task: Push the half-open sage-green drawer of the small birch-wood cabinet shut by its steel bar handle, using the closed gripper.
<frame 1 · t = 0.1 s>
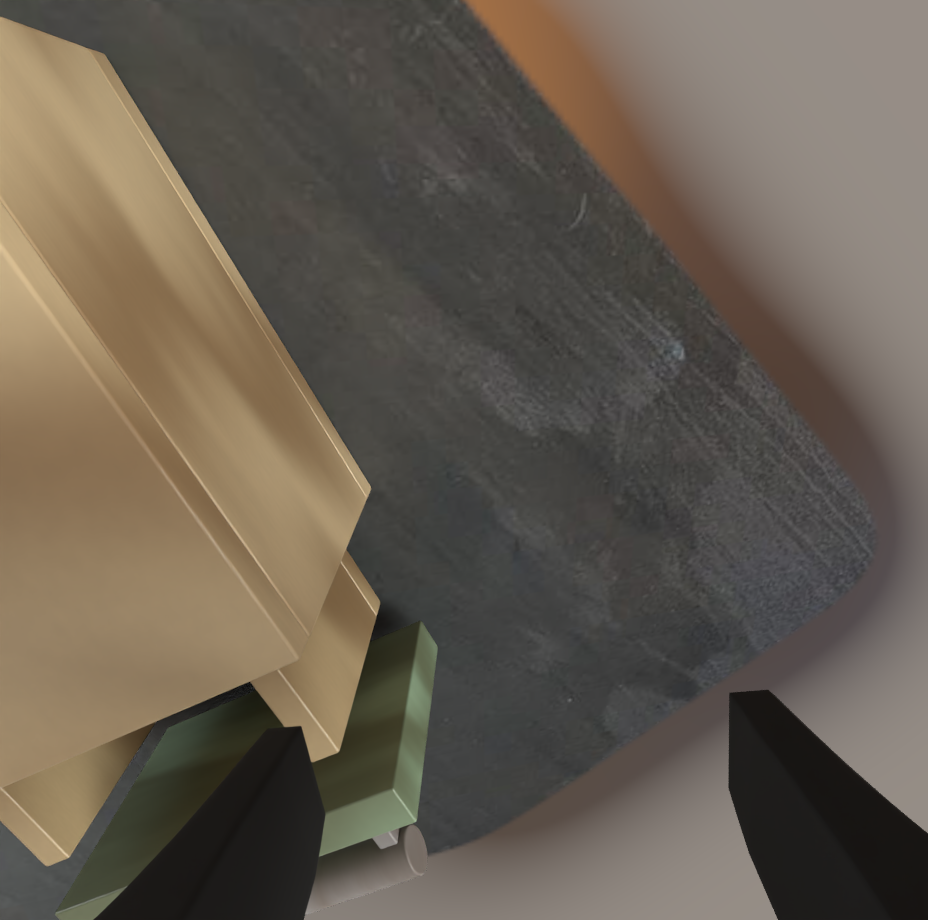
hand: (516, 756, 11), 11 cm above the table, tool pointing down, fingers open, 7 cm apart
cabinet: (95, 383, 21), on the table
drawer: (197, 677, 19), point 4 cm above the table, slide at 4.5 cm
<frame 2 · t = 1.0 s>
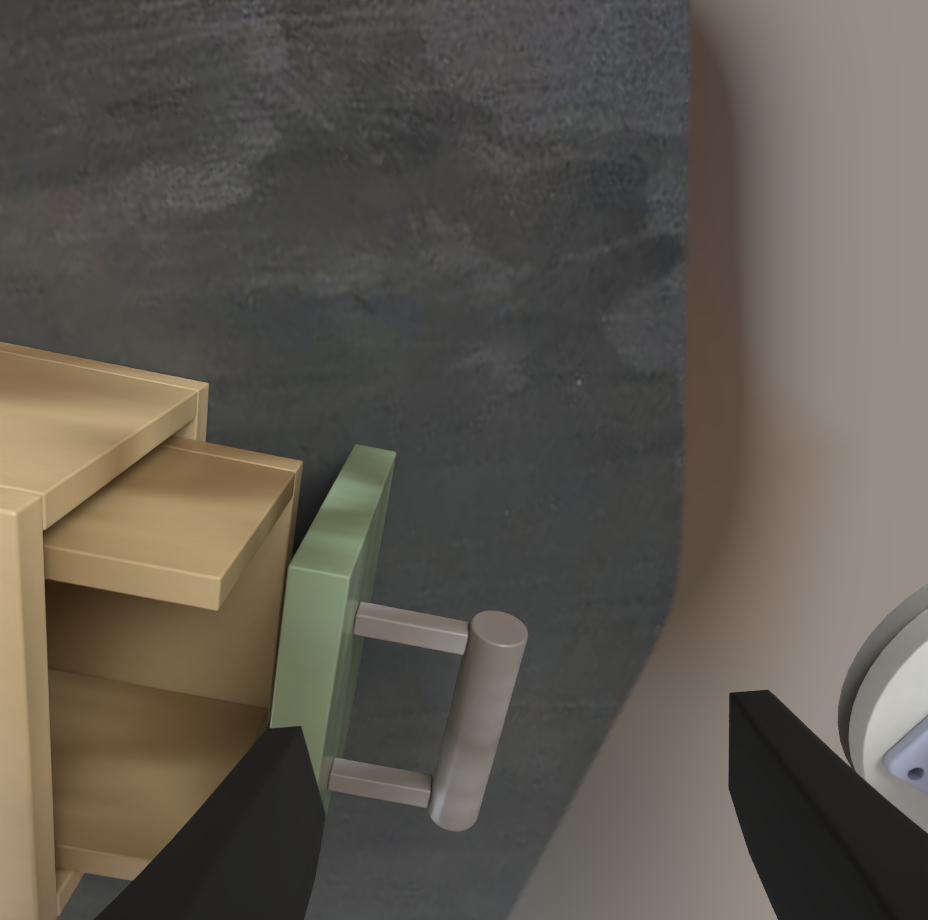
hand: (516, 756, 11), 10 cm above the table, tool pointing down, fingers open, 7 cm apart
drawer: (190, 647, 18), point 4 cm above the table, slide at 4.5 cm
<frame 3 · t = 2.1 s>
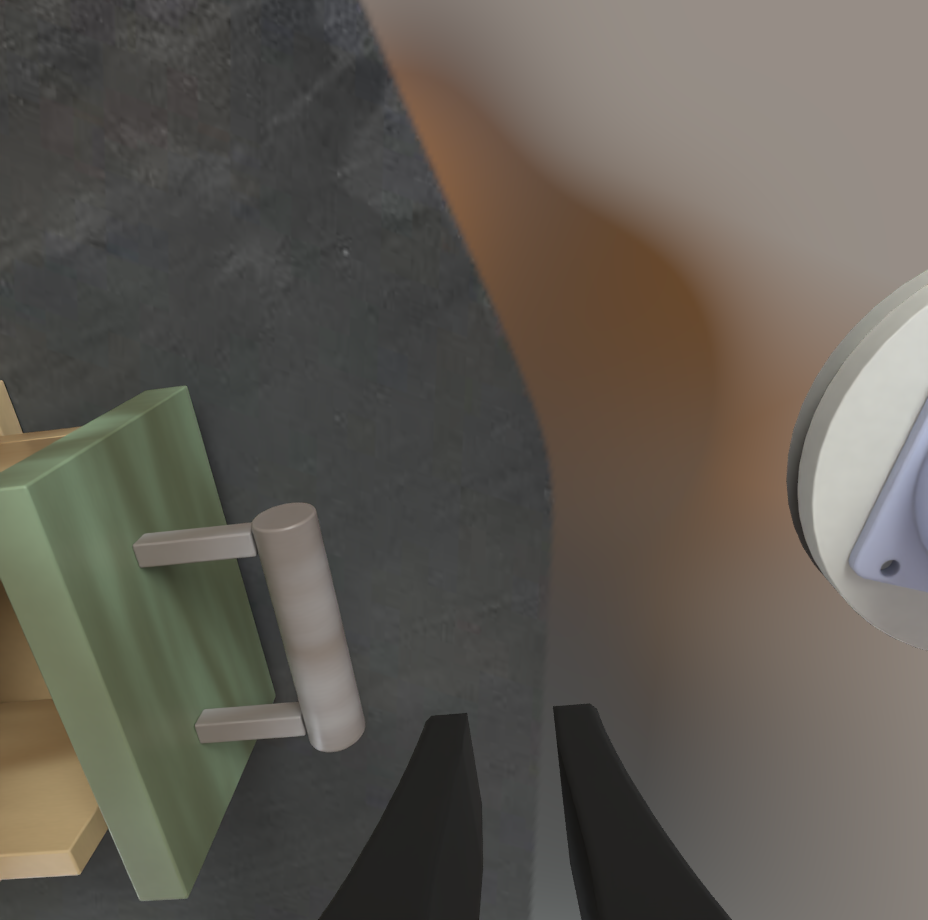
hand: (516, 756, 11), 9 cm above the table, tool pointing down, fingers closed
drawer: (29, 636, 17), point 4 cm above the table, slide at 4.5 cm
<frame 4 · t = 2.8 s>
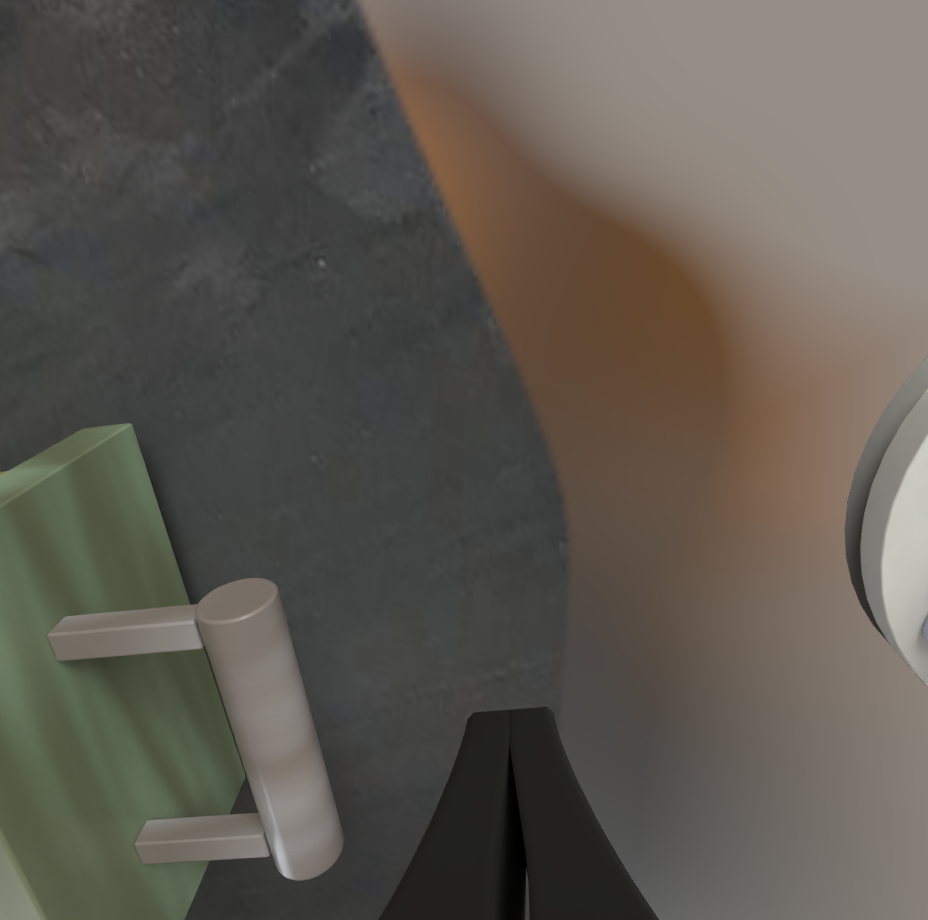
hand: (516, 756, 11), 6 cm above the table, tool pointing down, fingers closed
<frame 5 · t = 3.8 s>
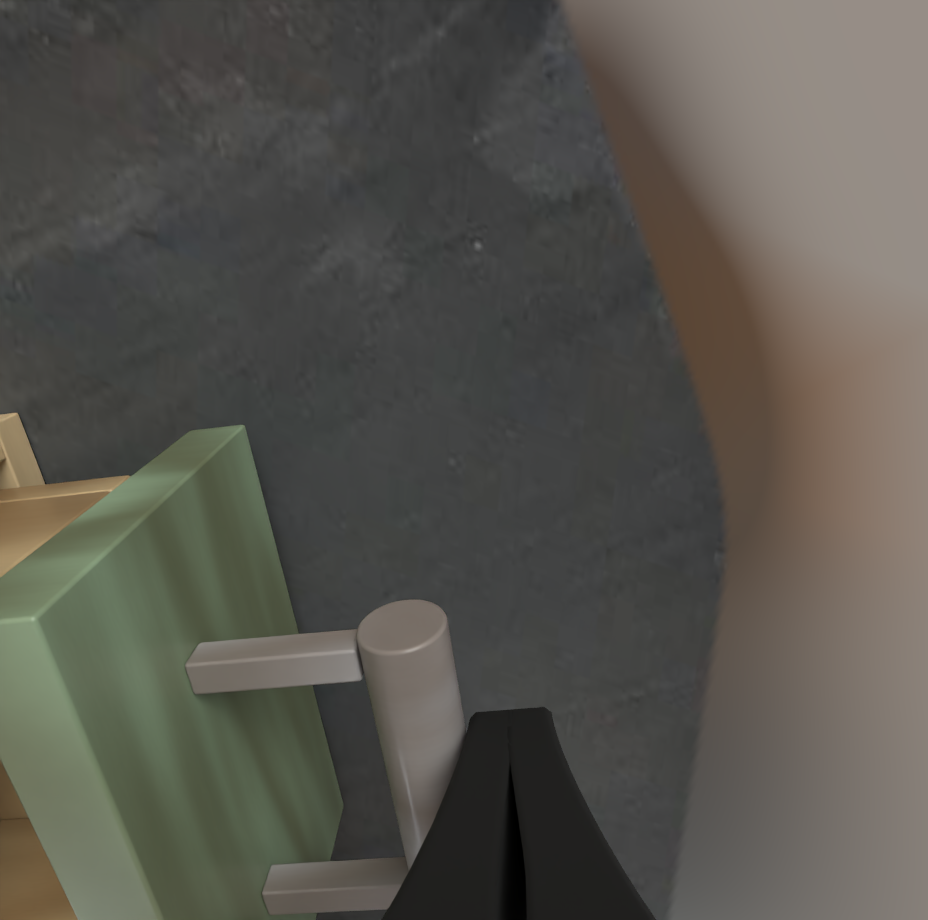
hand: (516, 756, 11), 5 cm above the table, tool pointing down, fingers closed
drawer: (37, 765, 13), point 4 cm above the table, slide at 4.1 cm, touching gripper
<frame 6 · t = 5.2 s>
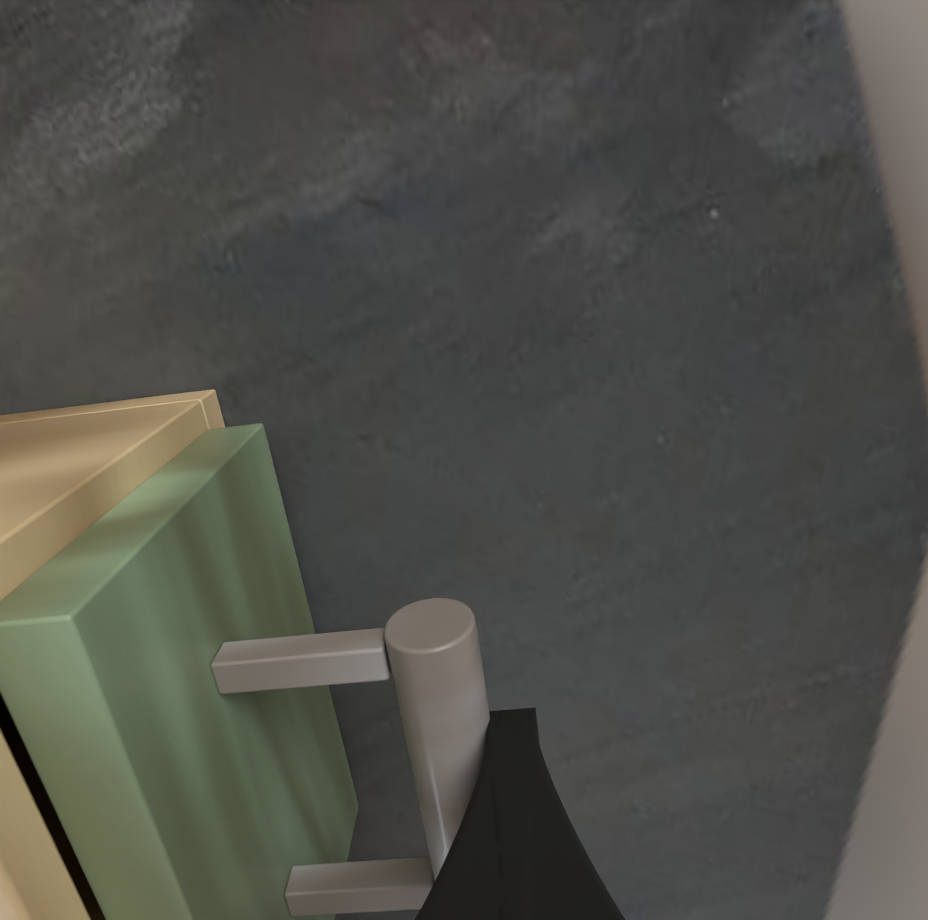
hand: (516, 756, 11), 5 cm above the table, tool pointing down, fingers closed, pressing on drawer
cabinet: (15, 643, 17), on the table
drawer: (56, 766, 13), point 4 cm above the table, slide at 0.0 cm, touching cabinet, gripper
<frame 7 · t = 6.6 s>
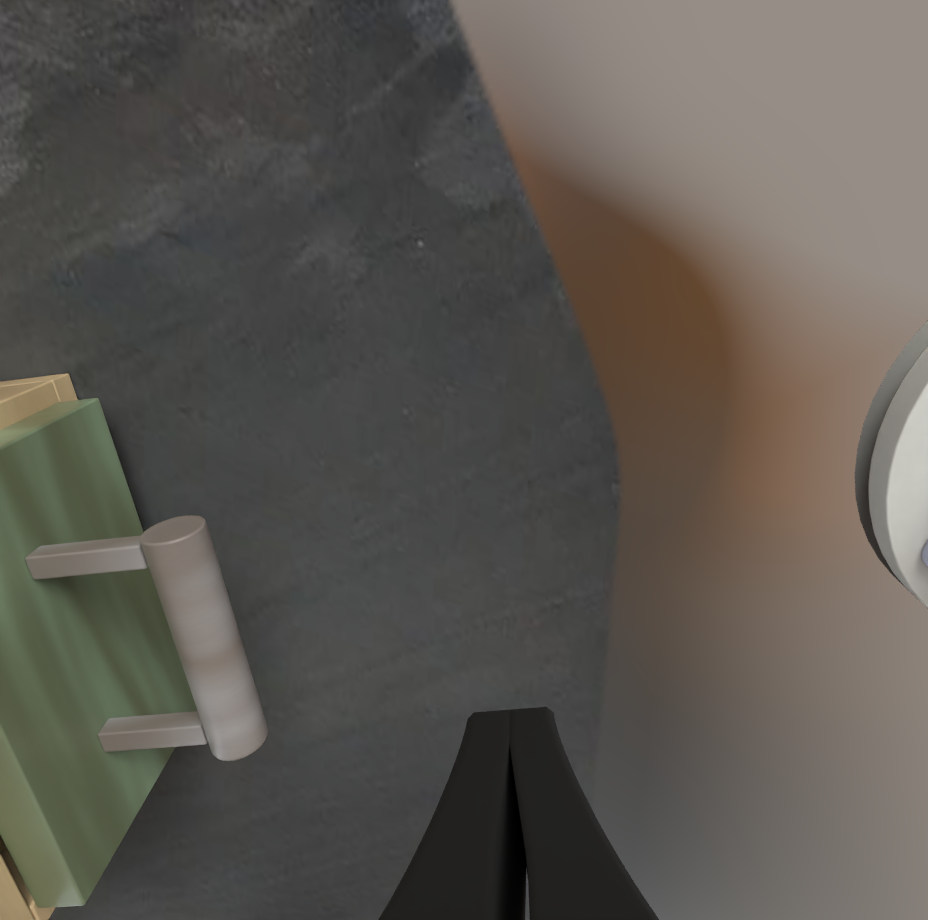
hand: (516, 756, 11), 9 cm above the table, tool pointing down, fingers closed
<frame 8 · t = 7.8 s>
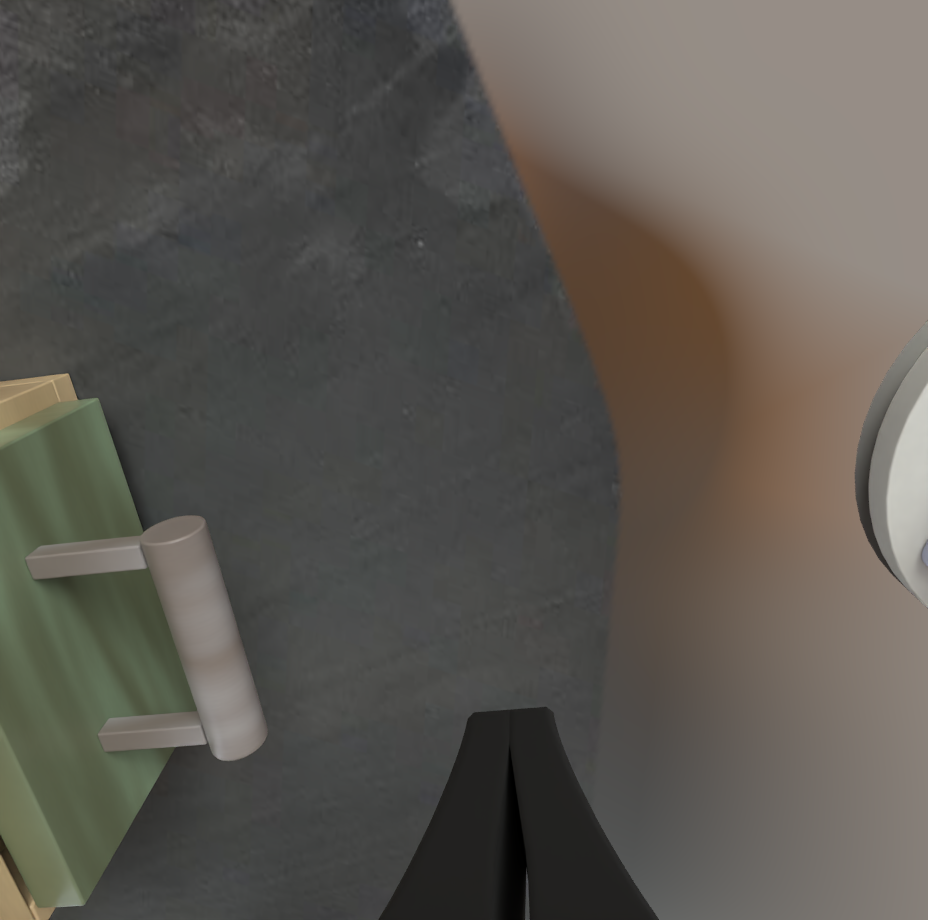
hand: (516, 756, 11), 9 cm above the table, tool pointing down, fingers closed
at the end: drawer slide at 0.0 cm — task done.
